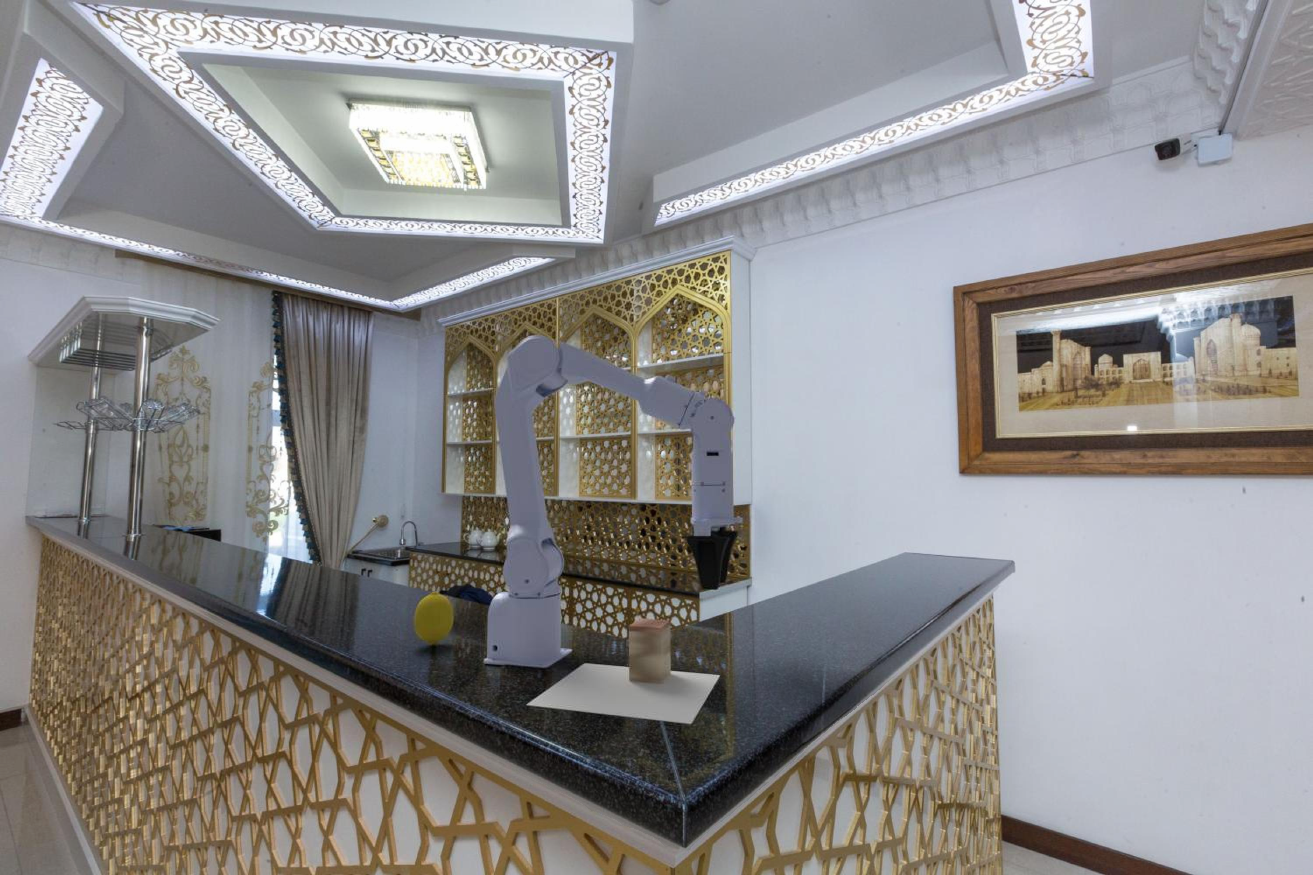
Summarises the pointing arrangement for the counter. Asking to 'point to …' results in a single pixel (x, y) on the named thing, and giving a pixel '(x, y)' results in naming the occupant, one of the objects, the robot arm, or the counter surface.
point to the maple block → (649, 651)
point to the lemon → (433, 618)
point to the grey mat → (629, 694)
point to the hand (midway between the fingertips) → (714, 585)
